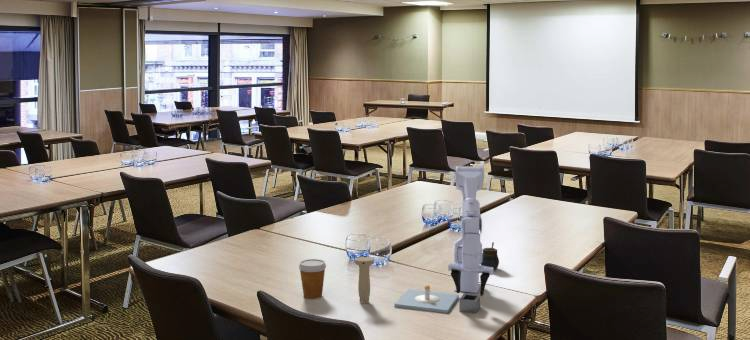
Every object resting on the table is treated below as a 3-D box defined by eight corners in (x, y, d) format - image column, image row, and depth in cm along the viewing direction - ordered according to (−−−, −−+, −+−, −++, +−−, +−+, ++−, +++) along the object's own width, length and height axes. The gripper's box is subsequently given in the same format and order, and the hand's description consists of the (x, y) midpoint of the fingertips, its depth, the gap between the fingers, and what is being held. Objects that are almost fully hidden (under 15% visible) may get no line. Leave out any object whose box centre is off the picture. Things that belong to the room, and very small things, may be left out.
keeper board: (408, 291, 246) (408, 275, 245) (458, 297, 240) (458, 280, 239) (394, 306, 231) (394, 289, 230) (447, 313, 225) (447, 295, 224)
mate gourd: (478, 270, 271) (479, 245, 269) (481, 265, 278) (482, 241, 277) (497, 272, 269) (498, 247, 267) (499, 267, 276) (500, 242, 274)
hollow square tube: (463, 305, 233) (463, 293, 232) (480, 306, 231) (480, 295, 230) (459, 311, 227) (459, 299, 226) (476, 313, 225) (476, 301, 224)
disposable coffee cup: (330, 298, 239) (329, 264, 238) (303, 302, 236) (302, 267, 234) (321, 290, 248) (321, 257, 246) (295, 293, 245) (295, 260, 243)
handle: (355, 299, 238) (355, 256, 236) (374, 299, 238) (374, 257, 236) (354, 304, 234) (353, 260, 231) (373, 304, 233) (373, 261, 231)
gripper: (446, 254, 225) (445, 294, 227) (491, 258, 220) (490, 299, 222) (451, 248, 231) (450, 288, 233) (495, 252, 226) (494, 293, 229)
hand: (470, 293), depth 228 cm, fingers open, 7 cm apart
